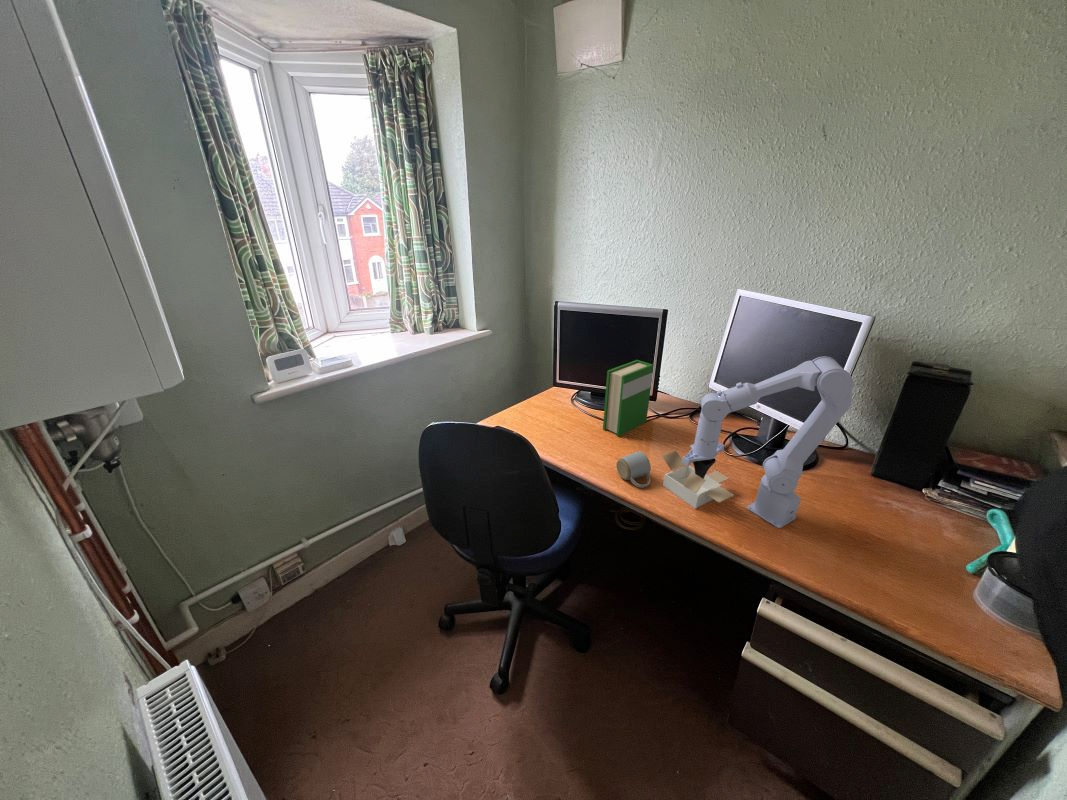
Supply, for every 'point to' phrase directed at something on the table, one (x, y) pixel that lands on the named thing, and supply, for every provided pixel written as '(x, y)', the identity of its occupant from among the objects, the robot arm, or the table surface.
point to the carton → (706, 492)
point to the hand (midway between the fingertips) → (698, 478)
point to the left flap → (693, 482)
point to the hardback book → (627, 396)
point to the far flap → (673, 460)
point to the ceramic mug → (634, 467)
